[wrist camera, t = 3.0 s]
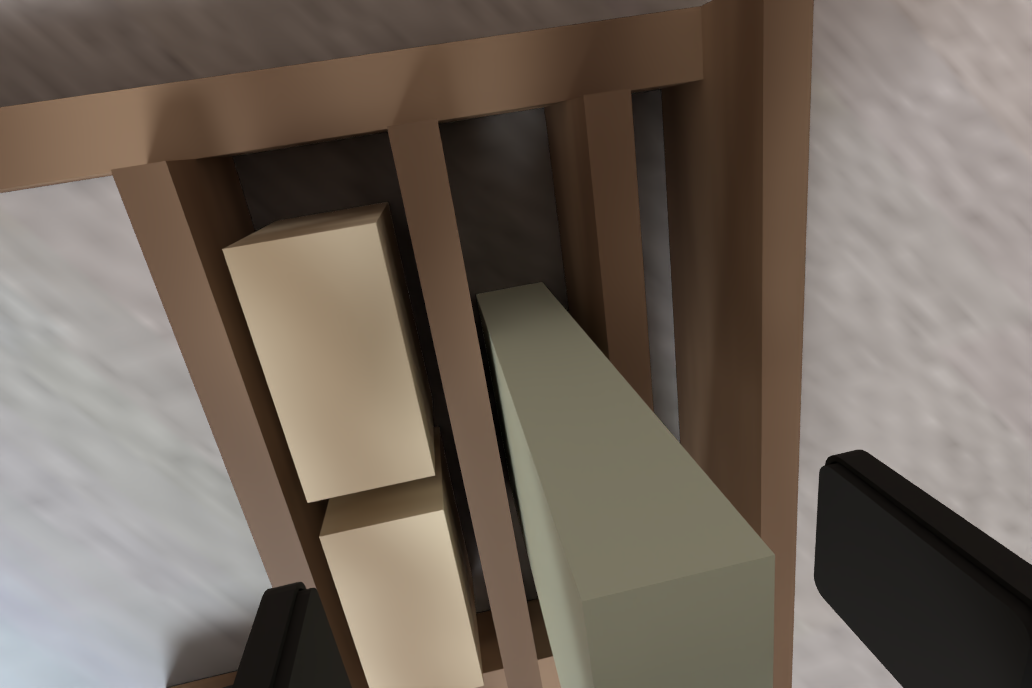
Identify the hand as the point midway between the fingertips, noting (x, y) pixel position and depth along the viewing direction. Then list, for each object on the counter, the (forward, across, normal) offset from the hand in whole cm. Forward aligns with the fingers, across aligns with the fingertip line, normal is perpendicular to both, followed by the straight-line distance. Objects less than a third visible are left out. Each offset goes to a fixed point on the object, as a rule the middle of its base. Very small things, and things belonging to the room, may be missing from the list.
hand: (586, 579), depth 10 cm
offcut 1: (+8, +4, -3) cm, 10 cm away
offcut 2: (+8, +4, +4) cm, 10 cm away
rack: (+8, +4, 0) cm, 9 cm away
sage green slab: (+8, 0, 0) cm, 8 cm away
